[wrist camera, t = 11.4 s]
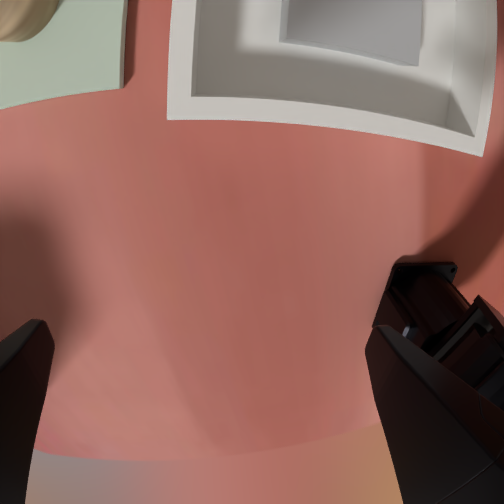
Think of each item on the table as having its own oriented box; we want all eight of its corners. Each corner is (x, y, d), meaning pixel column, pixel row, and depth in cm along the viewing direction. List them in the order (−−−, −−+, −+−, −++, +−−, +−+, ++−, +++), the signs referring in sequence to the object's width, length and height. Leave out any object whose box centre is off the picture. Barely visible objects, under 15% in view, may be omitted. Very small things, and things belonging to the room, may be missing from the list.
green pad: (142, -91, 9) (139, -97, 8) (123, 88, 15) (119, 88, 14) (-20, -37, 7) (-26, -39, 7) (-33, 118, 13) (-40, 121, 13)
